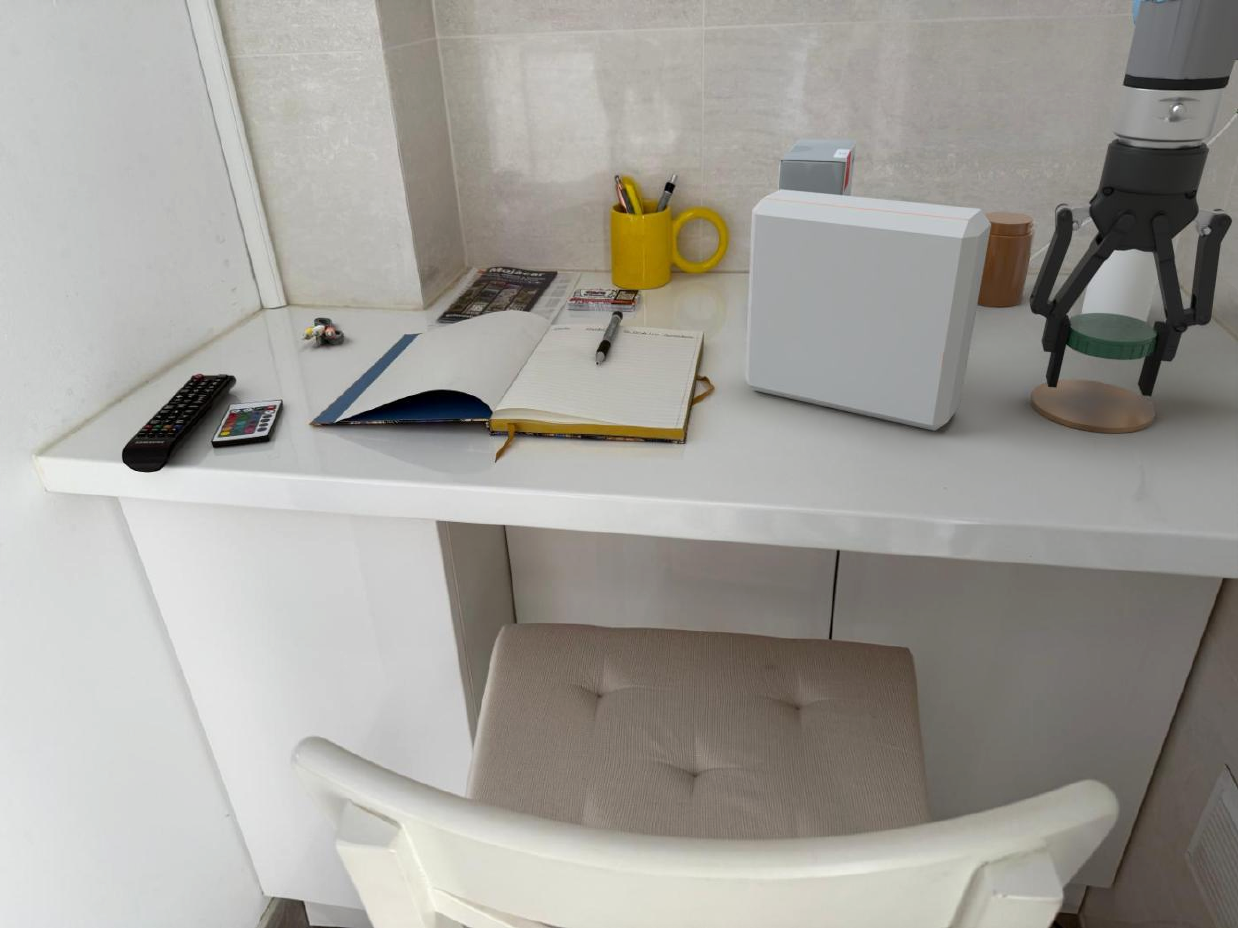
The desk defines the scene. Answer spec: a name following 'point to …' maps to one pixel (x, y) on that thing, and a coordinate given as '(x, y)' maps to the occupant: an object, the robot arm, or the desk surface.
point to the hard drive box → (818, 166)
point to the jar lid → (1111, 336)
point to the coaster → (1093, 406)
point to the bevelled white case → (864, 303)
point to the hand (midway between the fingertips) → (1097, 385)
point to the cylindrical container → (1123, 285)
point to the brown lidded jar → (1006, 259)
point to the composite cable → (323, 332)
